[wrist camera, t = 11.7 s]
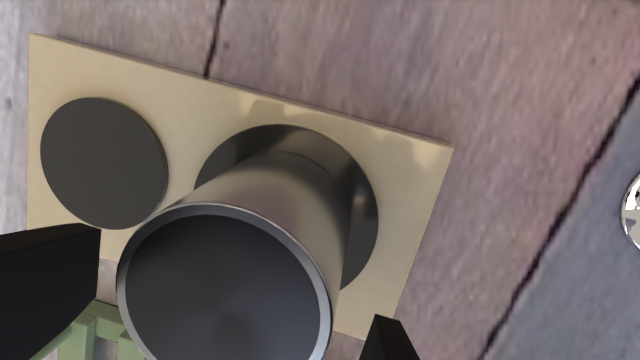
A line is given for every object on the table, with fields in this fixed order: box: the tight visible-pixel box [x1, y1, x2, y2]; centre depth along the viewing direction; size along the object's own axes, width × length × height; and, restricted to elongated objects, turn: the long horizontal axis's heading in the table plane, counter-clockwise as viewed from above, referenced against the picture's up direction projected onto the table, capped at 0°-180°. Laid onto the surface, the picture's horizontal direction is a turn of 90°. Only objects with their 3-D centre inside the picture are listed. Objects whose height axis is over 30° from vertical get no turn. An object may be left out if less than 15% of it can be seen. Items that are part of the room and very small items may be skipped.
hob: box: [26, 33, 455, 341], centre depth 15 cm, size 17×9×2 cm, turn 76°
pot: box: [116, 152, 350, 360], centre depth 12 cm, size 6×6×6 cm
